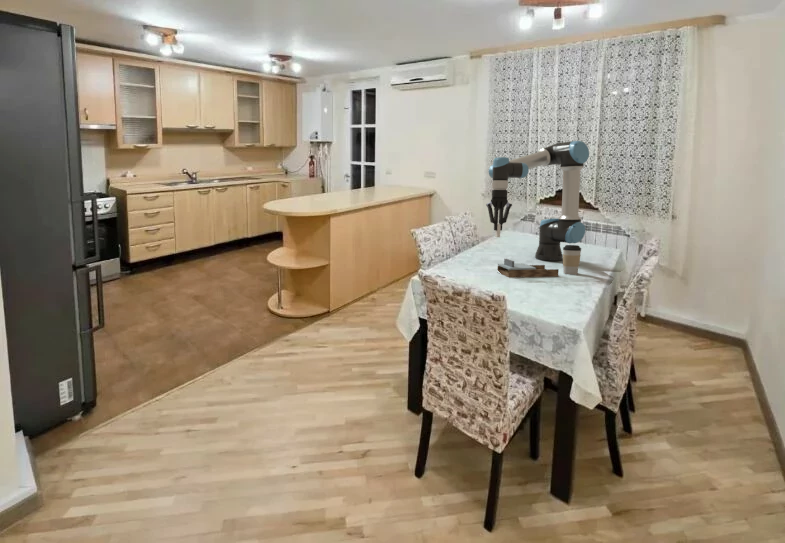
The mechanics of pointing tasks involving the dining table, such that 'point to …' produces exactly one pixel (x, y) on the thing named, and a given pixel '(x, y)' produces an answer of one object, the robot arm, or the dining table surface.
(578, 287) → the dining table surface
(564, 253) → the coffee cup
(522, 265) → the lid
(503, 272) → the wooden tray
